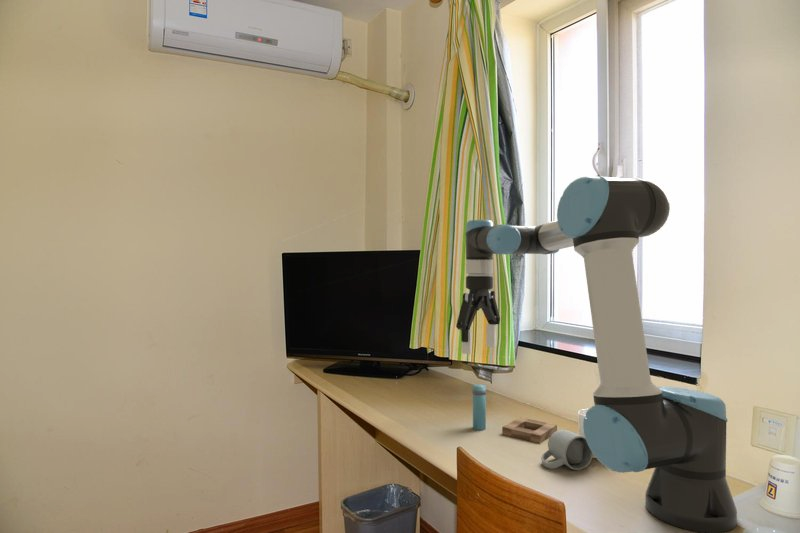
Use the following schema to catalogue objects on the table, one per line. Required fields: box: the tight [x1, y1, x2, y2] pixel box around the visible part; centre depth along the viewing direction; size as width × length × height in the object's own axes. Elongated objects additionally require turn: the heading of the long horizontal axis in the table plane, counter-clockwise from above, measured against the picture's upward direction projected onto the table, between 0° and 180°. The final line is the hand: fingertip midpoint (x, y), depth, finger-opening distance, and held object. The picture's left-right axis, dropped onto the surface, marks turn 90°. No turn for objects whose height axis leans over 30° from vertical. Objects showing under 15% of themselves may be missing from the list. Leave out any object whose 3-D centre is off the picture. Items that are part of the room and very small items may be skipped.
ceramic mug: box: [540, 429, 593, 471], centre depth 122 cm, size 11×8×8 cm
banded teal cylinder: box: [471, 384, 487, 431], centre depth 148 cm, size 4×4×12 cm
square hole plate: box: [501, 416, 558, 444], centre depth 144 cm, size 11×11×2 cm
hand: (479, 350), depth 148 cm, fingers open, 13 cm apart
